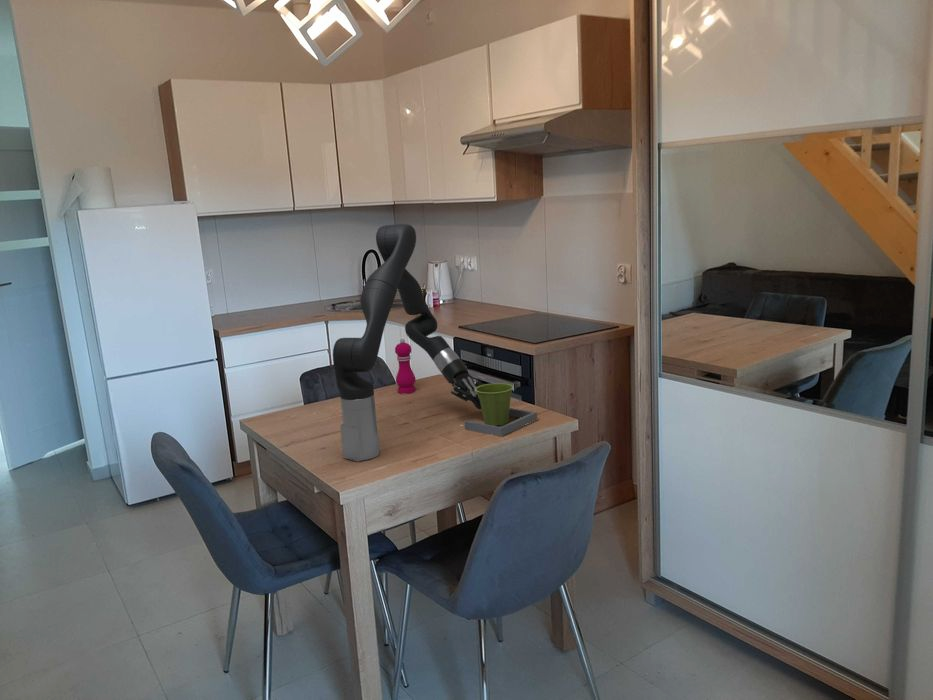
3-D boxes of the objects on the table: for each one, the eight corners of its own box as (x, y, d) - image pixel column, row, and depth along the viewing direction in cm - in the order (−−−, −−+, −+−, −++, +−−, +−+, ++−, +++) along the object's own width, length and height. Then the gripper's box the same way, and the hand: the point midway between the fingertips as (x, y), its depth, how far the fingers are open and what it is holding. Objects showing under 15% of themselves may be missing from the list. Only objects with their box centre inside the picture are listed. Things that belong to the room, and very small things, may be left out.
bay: (501, 436, 207) (501, 428, 207) (464, 429, 216) (464, 421, 216) (537, 420, 221) (536, 412, 220) (501, 413, 230) (500, 406, 229)
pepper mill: (413, 394, 260) (409, 340, 256) (394, 394, 262) (389, 340, 258) (418, 389, 267) (414, 336, 263) (400, 389, 269) (395, 337, 265)
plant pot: (519, 417, 224) (517, 382, 222) (510, 429, 213) (508, 393, 211) (482, 416, 228) (480, 382, 226) (472, 428, 217) (470, 392, 214)
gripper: (442, 362, 221) (475, 406, 215) (469, 353, 230) (501, 395, 225) (430, 377, 225) (462, 420, 220) (458, 368, 235) (489, 409, 230)
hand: (482, 407), depth 223 cm, fingers closed
